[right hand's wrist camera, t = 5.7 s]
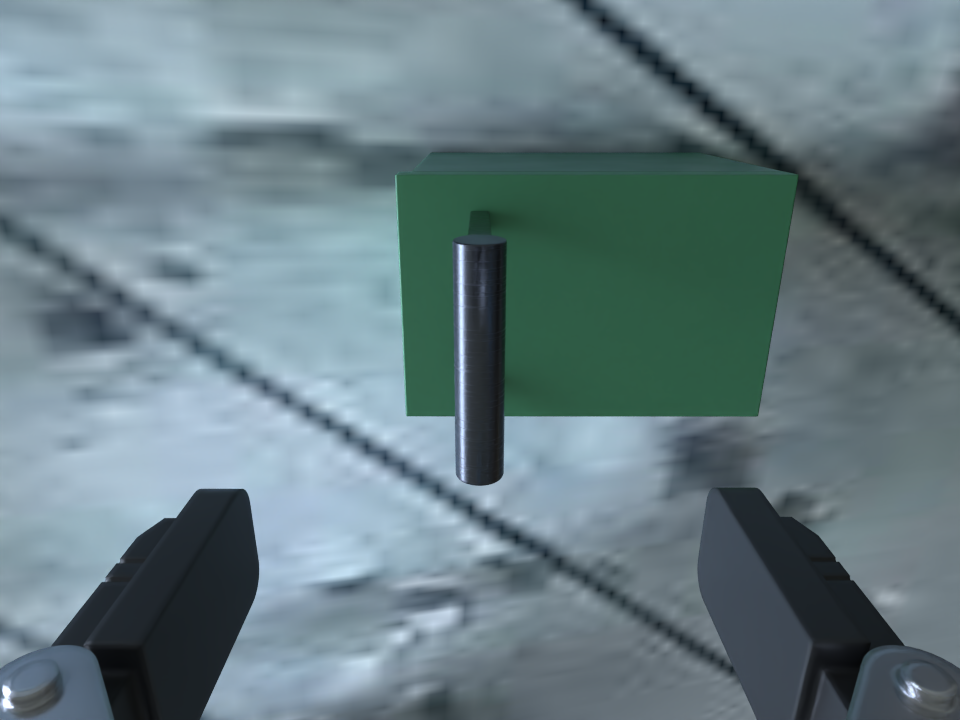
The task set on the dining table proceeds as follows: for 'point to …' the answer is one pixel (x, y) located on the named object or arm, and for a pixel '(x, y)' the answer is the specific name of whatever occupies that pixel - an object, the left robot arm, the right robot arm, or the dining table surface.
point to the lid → (586, 296)
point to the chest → (582, 163)
